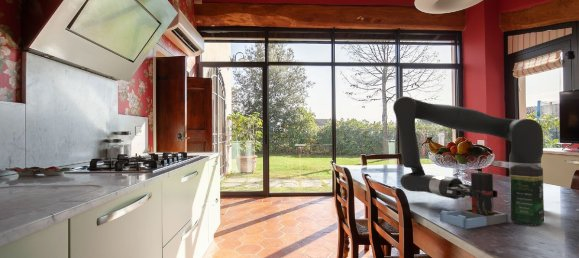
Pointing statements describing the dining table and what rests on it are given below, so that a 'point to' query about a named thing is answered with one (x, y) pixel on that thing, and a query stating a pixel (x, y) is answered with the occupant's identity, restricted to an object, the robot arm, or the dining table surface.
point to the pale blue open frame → (472, 218)
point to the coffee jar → (527, 194)
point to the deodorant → (484, 185)
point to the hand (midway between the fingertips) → (489, 194)
